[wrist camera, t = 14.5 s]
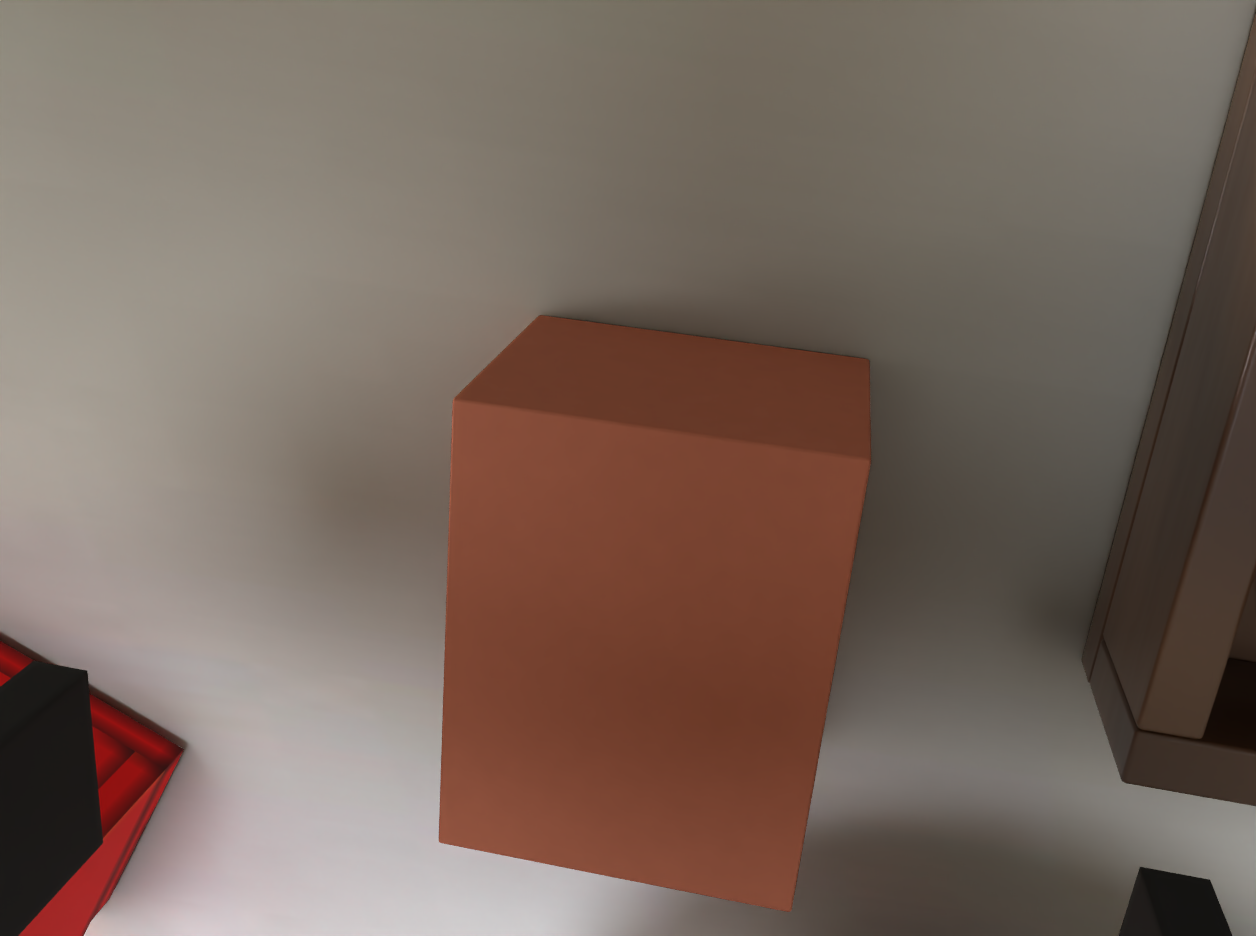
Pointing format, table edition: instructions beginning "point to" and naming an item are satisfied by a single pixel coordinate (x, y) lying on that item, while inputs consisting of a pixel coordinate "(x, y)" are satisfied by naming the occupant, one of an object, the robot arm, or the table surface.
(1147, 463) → the frame
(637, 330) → the reddish brown rectangular block
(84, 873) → the french fries container
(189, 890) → the table surface
